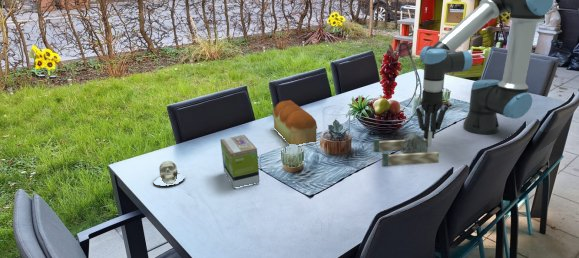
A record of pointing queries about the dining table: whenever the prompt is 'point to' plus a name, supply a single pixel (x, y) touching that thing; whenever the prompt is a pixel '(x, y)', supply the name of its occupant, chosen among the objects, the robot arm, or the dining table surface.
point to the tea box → (240, 160)
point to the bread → (294, 123)
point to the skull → (168, 172)
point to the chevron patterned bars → (402, 158)
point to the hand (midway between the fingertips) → (428, 145)
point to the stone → (414, 145)
